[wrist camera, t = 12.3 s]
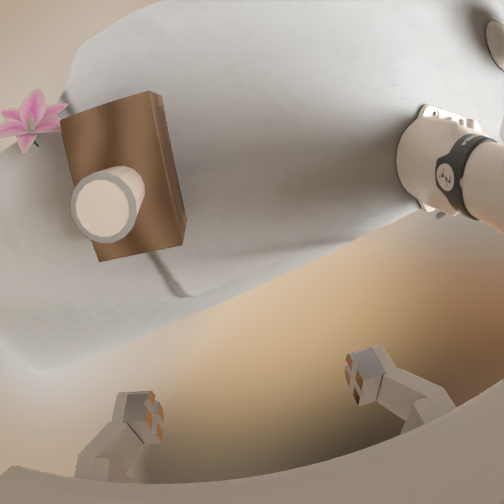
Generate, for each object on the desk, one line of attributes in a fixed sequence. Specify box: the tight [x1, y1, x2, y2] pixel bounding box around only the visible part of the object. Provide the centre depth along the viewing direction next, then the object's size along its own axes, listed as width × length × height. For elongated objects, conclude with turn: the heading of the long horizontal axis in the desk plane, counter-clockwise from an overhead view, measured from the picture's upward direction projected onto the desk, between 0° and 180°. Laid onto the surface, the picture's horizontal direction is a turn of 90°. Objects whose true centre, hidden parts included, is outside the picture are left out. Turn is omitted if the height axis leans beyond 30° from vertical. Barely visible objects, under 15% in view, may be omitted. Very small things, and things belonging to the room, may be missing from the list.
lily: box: [0, 89, 69, 154], centre depth 30 cm, size 12×12×10 cm
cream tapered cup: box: [70, 166, 145, 243], centre depth 28 cm, size 7×7×7 cm
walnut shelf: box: [60, 91, 187, 262], centre depth 35 cm, size 11×18×9 cm, turn 8°
